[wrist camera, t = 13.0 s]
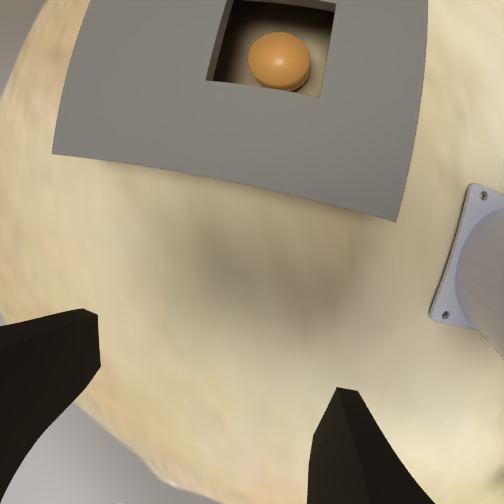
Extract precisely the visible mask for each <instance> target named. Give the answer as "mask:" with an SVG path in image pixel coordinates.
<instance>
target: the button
mask: <svg viewBox="0 0 504 504" xmlns="http://www.w3.org/2000/svg"><path fill="white" fill-rule="evenodd" d="M248 64H249V67H250V69H251V71H252V72H253V74H254V76H255V77H256V79H257V80H258V82H259V83H260V84H261V85H262V86H263V87H265V88H272V89H278V90H284V91H289V92H290V91H293V90H295V89H297V88H299V87H300V86H302V85H303V84H304V83H305V81H306V80H307V78H308V76H309V72H310V58H309V52H308V49H307V47H306V45H305V44H304V43H303V42H302V41H301V40H300V39H299V38H297V37H296V36H294V35H292V34H289V33H284V32H274V33H270V34H267V35H264V36H262V37H261V38H259V39H258V40H257V41H255V43H254V44H253V45H252V47H251V48H250V51H249V54H248Z"/></svg>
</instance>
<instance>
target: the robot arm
mask: <svg viewBox="0 0 504 504" xmlns="http://www.w3.org/2000/svg"><path fill="white" fill-rule="evenodd" d="M482 191H483V192H484V198H483V199H481V197H480V194H481V192H482ZM445 311H447V314H446V315H445V316H444V317H442V314H443V313H444V312H445ZM430 316H431V318H432V319H433V320H434V321H436V322H441V323H446V324H450V325H455V326H460V327H465V328H469V329H474V330H479V331H480V332H481V333H482V334H483V335H484V337H485V338H486V339H487V340H488V341H489V343H490V344H491V345H492V346H493V347H494V349H495V350H496V351H497V352H498V353H499V355H500V356H501V357H502V358H503V360H504V195H502V194H500V193H498V192H496V191H493V190H491V189H489V188H487V187H484V186H482V185H480V184H475V183H473V184H471V185H470V186H469V187H468V190H467V194H466V198H465V203H464V207H463V211H462V215H461V219H460V223H459V226H458V230H457V233H456V237H455V240H454V244H453V247H452V250H451V253H450V257H449V260H448V263H447V266H446V269H445V272H444V274H443V277H442V280H441V283H440V286H439V288H438V291H437V294H436V296H435V299H434V302H433V304H432V307H431V309H430ZM100 367H101V363H100V350H99V334H98V315H97V314H95V313H92V312H90V311H88V310H85V309H76V310H71V311H66V312H61V313H57V314H53V315H49V316H45V317H41V318H36V319H32V320H28V321H24V322H20V323H15V324H10V325H4V326H0V502H1V500H2V498H3V495H4V493H5V491H6V489H7V487H8V485H9V484H10V482H11V480H12V478H13V476H14V474H15V473H16V471H17V469H18V468H19V466H20V464H21V463H22V461H23V460H24V458H25V456H26V455H27V454H28V452H29V451H30V449H31V448H32V447H33V445H34V444H35V442H36V441H37V440H38V438H39V437H40V436H41V435H42V434H43V432H44V431H45V430H46V429H47V428H48V427H49V426H50V425H51V424H52V423H53V422H54V421H55V420H56V419H57V418H58V417H59V415H60V414H61V413H62V412H63V411H64V410H65V409H66V408H67V407H68V406H69V405H70V404H71V403H72V402H73V401H74V400H75V399H76V398H77V397H78V396H79V395H80V394H81V393H82V391H83V390H84V389H85V388H86V387H87V385H88V384H89V383H90V381H91V380H92V379H93V377H94V376H95V374H96V373H97V371H98V370H99V368H100ZM307 504H435V503H434V502H433V501H432V500H431V499H430V497H429V496H428V495H427V494H426V493H425V492H424V491H423V489H422V488H421V487H420V486H419V485H418V483H417V482H416V481H415V480H414V478H413V477H412V476H411V474H410V473H409V472H408V470H407V469H406V468H405V466H404V465H403V463H402V462H401V461H400V459H399V458H398V456H397V455H396V453H395V452H394V450H393V449H392V447H391V446H390V444H389V443H388V441H387V439H386V438H385V436H384V435H383V433H382V431H381V430H380V428H379V426H378V425H377V423H376V421H375V420H374V418H373V416H372V414H371V413H370V411H369V409H368V408H367V406H366V404H365V402H364V401H363V399H362V397H361V396H360V394H359V392H358V391H355V390H350V389H344V388H339V387H337V388H336V390H335V392H334V394H333V397H332V399H331V401H330V403H329V405H328V407H327V409H326V411H325V413H324V415H323V417H322V419H321V421H320V423H319V425H318V427H317V429H316V431H315V433H314V435H313V441H312V447H311V453H310V460H309V471H308V494H307Z"/></svg>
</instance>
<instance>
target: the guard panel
mask: <svg viewBox="0 0 504 504" xmlns="http://www.w3.org/2000/svg"><path fill="white" fill-rule="evenodd" d="M233 1H234V0H91V1H90V3H89V6H88V8H87V11H86V14H85V16H84V19H83V22H82V25H81V28H80V30H79V34H78V37H77V40H76V43H75V46H74V49H73V53H72V56H71V60H70V63H69V67H68V71H67V75H66V79H65V83H64V87H63V92H62V96H61V101H60V106H59V111H58V116H57V122H56V128H55V134H54V141H53V148H52V154H56V155H65V156H74V157H82V158H90V159H98V160H106V161H113V162H120V163H127V164H133V165H140V166H146V167H153V168H159V169H165V170H171V171H176V172H182V173H188V174H193V175H198V176H204V177H209V178H214V179H219V180H224V181H229V182H234V183H239V184H244V185H249V186H253V187H258V188H263V189H267V190H272V191H276V192H281V193H285V194H289V195H294V196H298V197H302V198H306V199H310V200H314V201H318V202H322V203H326V204H330V205H334V206H338V207H342V208H346V209H350V210H353V211H357V212H361V213H365V214H368V215H372V216H375V217H379V218H383V219H386V220H390V221H393V222H396V221H397V217H398V213H399V209H400V205H401V201H402V197H403V193H404V189H405V185H406V180H407V176H408V171H409V166H410V162H411V157H412V151H413V146H414V141H415V135H416V129H417V123H418V117H419V110H420V103H421V96H422V88H423V79H424V69H425V58H426V44H427V25H428V0H244V1H260V2H271V3H281V4H289V5H297V6H304V7H310V8H316V9H322V10H327V11H332V12H335V15H334V21H333V27H332V32H331V38H330V44H329V49H328V55H327V60H326V66H325V71H324V76H323V82H322V87H321V92H320V97H314V96H310V95H305V94H300V93H294V92H289V91H284V90H278V89H272V88H265V87H259V86H252V85H244V84H236V83H227V82H217V81H213V77H214V73H215V69H216V65H217V60H218V56H219V52H220V49H221V45H222V41H223V37H224V33H225V29H226V26H227V22H228V18H229V15H230V11H231V8H232V4H233Z"/></svg>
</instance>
